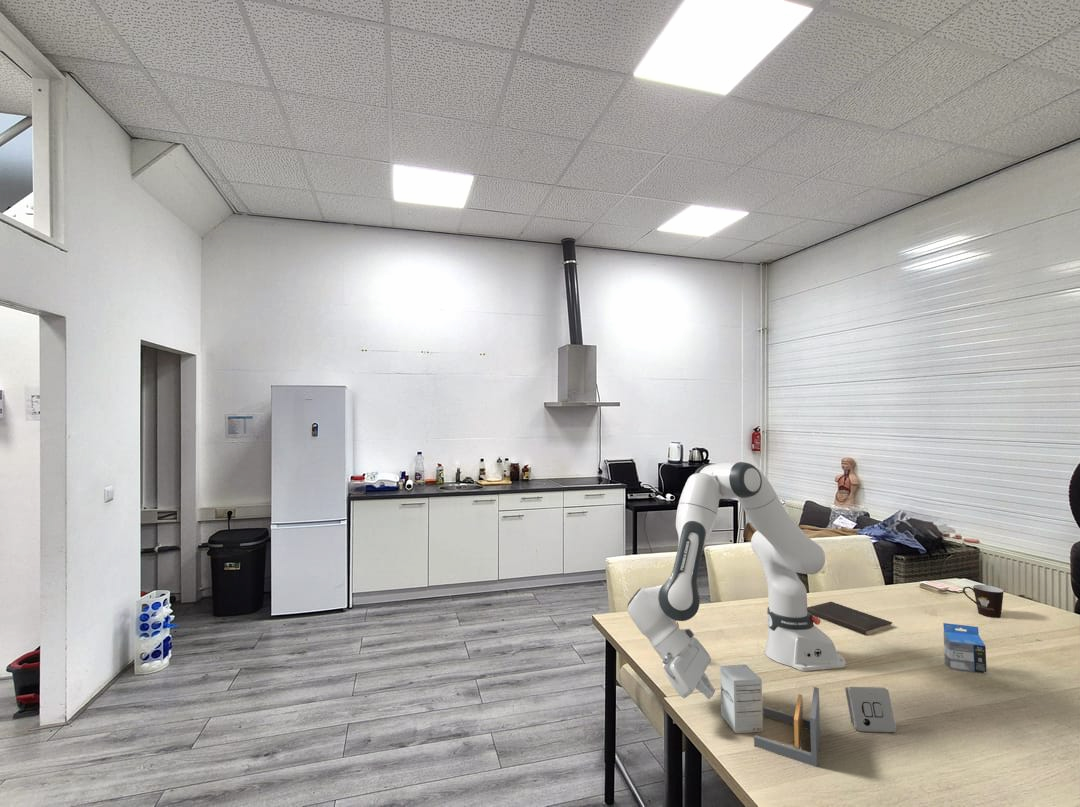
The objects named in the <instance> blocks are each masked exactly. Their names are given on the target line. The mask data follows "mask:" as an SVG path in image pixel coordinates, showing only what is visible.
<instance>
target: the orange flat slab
mask: <svg viewBox="0 0 1080 807" xmlns="http://www.w3.org/2000/svg"><path fill="white" fill-rule="evenodd" d="M803 705H804V704H803V694H801V693H798V694H797V700H796V706H795V710H794V711H795V712H794V725H793V728H794V729H793V732H794V734H793V736H794V739H793V740H794V748H798V749H801V741H802V734H803V729H804V728H803V717H804V712H803V711H804V709H803V708H804V707H803Z"/></svg>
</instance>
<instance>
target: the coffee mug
mask: <svg viewBox="0 0 1080 807" xmlns="http://www.w3.org/2000/svg"><path fill="white" fill-rule="evenodd" d="M966 589H970V590H972V591H973V593H974V598H975V600H974V599H973V598H972V597H970V596H969V595H968V594H967V592H966ZM962 592H963V594H964V596H965V597H967V598H968V599H969V600H970V601H972V602H973V603H974V604H976V609H977V612H978V614H979V615H981V616H984V617H986V618H987V617H988V618H991V619H992V618H993V619H1000V618H1002V610H1003V602H1004V590H1003V589H1002V588H999V587H996V586H992V585H987V584H986V585H985V584H973V585H972V587H971V586H964V587H962Z"/></svg>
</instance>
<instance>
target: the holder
mask: <svg viewBox="0 0 1080 807" xmlns="http://www.w3.org/2000/svg"><path fill="white" fill-rule="evenodd" d="M820 709H821V708H820V688H819V687H817V686H816V687H815V686H814V687H813V694H812V700H811V707H810V716H809V718H807V717H804V716H803V729H806V730H809V731H810V751H807V750H804V749H801V748H800V749H798V748H795V746H791V745H788V744H785V743H781V742H778V741H775V740H772V739H769V738H766V737H762V736H759V735H757V734H754V736H753V743H754V744H753V746H754V748H755V747H756V748H759V749H761V748H762V749H761V750H764V749H765V751H767V750H768V751H769V752H770V751H771V753H774V754H776V753H777V754H776V755H781V756H783V757H786V758H788V759H792V760H795V761H798V762H801V763H804V764H808V765H810V766H813V767H815V768H816V767H818V760H819V759H818V758H819V749H820V748H819V746H820V737H821V719H820V718H821V715H820V714H821V712H820V711H821V710H820ZM794 715H795V713H794V714H793V713H789V712H786V711H784V710H780V709H776V708H773V707H769V706H765V705H762V716H763V717H766V718H769V719H772V720H776V721H779V722H782V721H783V722H782V723H785V722H786V724H789V725H793V726H794ZM768 751H767V752H768Z"/></svg>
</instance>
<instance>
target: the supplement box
mask: <svg viewBox="0 0 1080 807" xmlns="http://www.w3.org/2000/svg"><path fill="white" fill-rule="evenodd" d="M719 668H720V670H719V672H720V674H719V675H720V676H719V677H720V711H721V712H720V714H721V715H720V716H721V717H722V718H723V720H725V721H726V723H727V724H728V725H729V727H730V728H731V729H732V730H733V732H734V733H735V734H748V733H761V732H763V731H764V725H763V724H764V723H763V721H764V719H763V717H764V716H763V685H762V684H763V683H762V681H763V680H762V678H761V677H760V676H759V675H757V673H755V671H754V670H753V669H752V668H750V667H749V666H748V665H747V664H732V665H731V664H730V665H720V666H719Z"/></svg>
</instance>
